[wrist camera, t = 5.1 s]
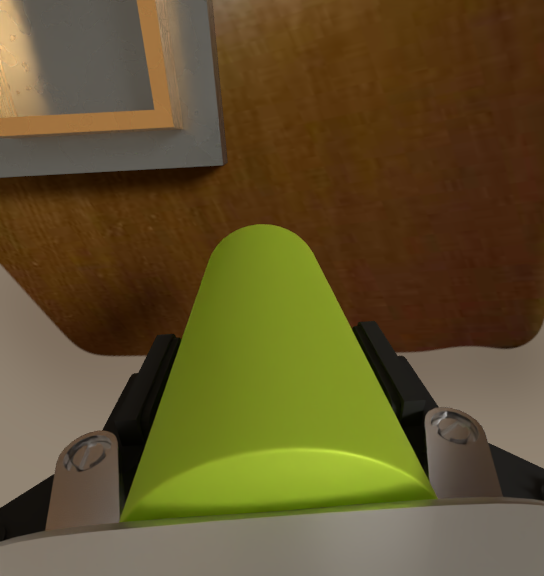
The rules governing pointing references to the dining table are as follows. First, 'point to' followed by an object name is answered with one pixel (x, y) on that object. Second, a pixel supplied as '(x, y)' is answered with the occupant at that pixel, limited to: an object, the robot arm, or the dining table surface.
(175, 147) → the bottle holder tray
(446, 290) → the dining table surface
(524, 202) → the dining table surface
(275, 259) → the green pump bottle
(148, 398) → the robot arm
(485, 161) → the dining table surface
